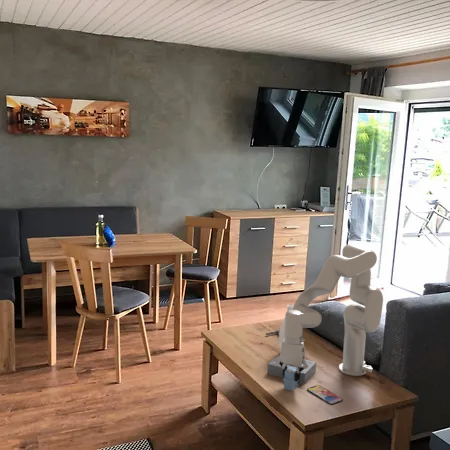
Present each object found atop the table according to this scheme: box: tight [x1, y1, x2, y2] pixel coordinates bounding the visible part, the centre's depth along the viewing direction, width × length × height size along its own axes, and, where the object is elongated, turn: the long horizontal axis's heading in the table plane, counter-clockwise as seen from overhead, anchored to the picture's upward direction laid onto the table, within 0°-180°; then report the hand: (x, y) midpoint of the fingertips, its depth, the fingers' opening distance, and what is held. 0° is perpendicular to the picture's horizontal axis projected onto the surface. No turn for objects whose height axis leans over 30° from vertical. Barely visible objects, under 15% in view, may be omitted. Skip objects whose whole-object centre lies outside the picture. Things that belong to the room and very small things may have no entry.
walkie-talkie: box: [265, 328, 280, 336], centre depth 283 cm, size 9×4×20 cm
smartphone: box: [306, 384, 343, 406], centre depth 218 cm, size 7×1×15 cm
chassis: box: [267, 353, 317, 385], centre depth 238 cm, size 18×14×5 cm
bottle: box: [278, 304, 294, 354], centre depth 256 cm, size 11×11×25 cm
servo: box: [282, 366, 299, 392], centre depth 224 cm, size 4×9×8 cm, turn 150°
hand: (291, 378), depth 224 cm, fingers open, 4 cm apart
